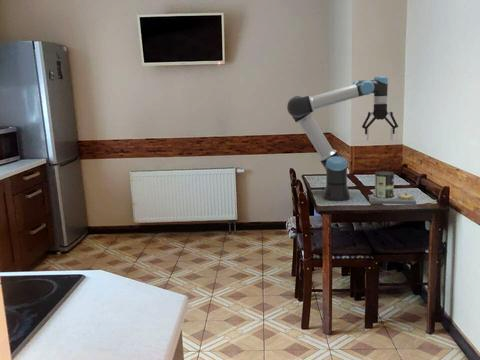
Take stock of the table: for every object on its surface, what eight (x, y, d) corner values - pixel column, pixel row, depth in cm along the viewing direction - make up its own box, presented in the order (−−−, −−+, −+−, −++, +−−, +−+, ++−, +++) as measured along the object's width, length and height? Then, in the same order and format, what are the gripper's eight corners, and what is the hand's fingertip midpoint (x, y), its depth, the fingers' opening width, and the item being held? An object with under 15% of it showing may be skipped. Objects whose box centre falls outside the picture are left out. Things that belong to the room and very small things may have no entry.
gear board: (370, 203, 255) (370, 195, 254) (368, 197, 269) (368, 189, 268) (416, 204, 251) (416, 196, 250) (411, 197, 264) (411, 189, 263)
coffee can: (392, 195, 264) (393, 171, 261) (394, 199, 254) (395, 174, 251) (373, 195, 266) (374, 171, 263) (375, 199, 256) (375, 174, 253)
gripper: (401, 102, 270) (400, 138, 274) (357, 103, 274) (357, 139, 279) (403, 103, 263) (402, 140, 267) (358, 104, 267) (358, 140, 272)
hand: (379, 139), depth 273 cm, fingers open, 13 cm apart
